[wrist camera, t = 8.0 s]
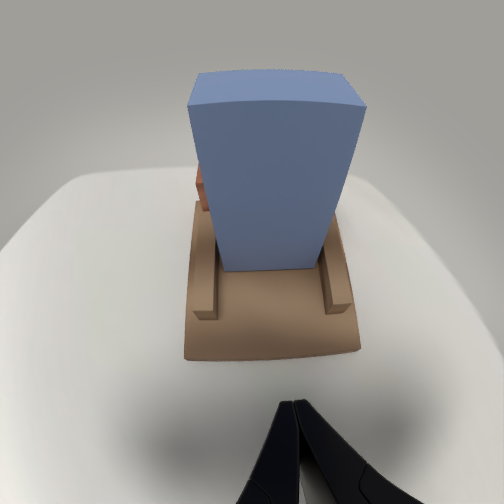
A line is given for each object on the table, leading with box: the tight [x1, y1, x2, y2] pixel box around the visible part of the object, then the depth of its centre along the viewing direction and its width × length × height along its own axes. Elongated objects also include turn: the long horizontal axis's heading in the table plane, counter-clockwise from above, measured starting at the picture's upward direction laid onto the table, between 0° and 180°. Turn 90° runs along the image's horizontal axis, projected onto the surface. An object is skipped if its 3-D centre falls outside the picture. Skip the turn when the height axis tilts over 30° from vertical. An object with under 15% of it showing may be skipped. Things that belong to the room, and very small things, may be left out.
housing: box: [184, 164, 361, 361], centre depth 17 cm, size 12×11×5 cm
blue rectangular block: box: [187, 69, 367, 272], centre depth 14 cm, size 3×6×12 cm, turn 92°
